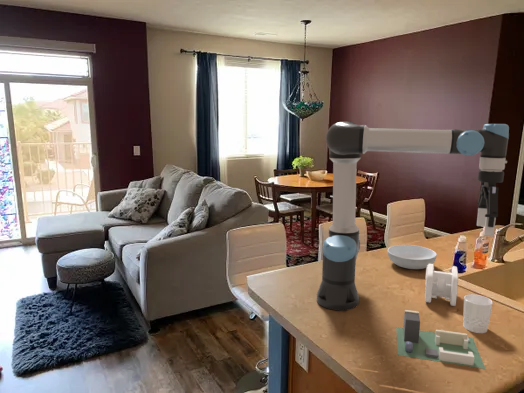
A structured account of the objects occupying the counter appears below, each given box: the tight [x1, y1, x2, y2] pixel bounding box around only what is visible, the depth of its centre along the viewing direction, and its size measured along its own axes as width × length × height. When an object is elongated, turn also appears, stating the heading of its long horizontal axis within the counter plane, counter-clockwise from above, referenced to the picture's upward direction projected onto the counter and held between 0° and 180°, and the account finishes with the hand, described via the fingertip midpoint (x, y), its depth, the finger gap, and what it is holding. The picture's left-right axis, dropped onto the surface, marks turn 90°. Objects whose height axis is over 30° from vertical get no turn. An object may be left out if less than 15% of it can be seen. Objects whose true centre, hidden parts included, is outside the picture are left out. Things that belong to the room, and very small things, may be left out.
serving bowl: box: [387, 244, 437, 270], centre depth 180 cm, size 21×21×7 cm
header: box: [434, 329, 474, 365], centre depth 112 cm, size 8×11×4 cm
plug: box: [402, 309, 421, 343], centre depth 119 cm, size 4×6×7 cm, turn 163°
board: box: [395, 326, 486, 370], centre depth 115 cm, size 22×16×3 cm
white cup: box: [462, 293, 493, 334], centre depth 125 cm, size 8×8×10 cm
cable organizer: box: [424, 263, 459, 307], centre depth 146 cm, size 15×11×12 cm
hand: (484, 230), depth 137 cm, fingers open, 13 cm apart
